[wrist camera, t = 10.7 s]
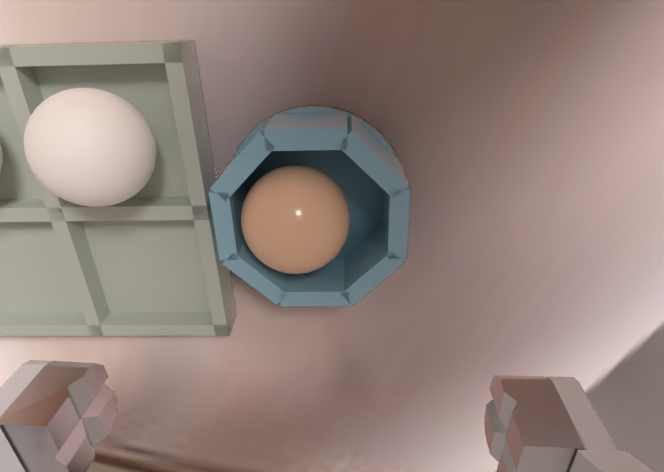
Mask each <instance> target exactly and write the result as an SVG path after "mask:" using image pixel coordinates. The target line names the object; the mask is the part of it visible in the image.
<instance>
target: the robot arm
mask: <svg viewBox="0 0 664 472" xmlns="http://www.w3.org/2000/svg"><path fill="white" fill-rule="evenodd" d="M107 378H108V374H107V372H106V370H105V367H104V365H101V364H96V363H78V362H61V361H36V360H31V361H28V362H26V363H24V364H22V365H21V366H20V367H19V368H18V369H17V370H16V372H15V373H14V374H13V375H12V376H11V377H10V378H9V379H8V380H7V381H6V382H5V383H4V384H3V385H2V387H1V388H0V472H86V471H87V470H88V468H89V466H90V464H91V463H92V461H93V460H94V458H95V452H94V446H95V445H96V444H98V443H99V442H101V441H102V440H103V439H105V438H106V437H107V435H108V434H109V432H110V430H111V428H112V426H113V425H114V421H115V417H116V413H117V399H116V396H115V393H114V391H113V390H111V389H110V388H109V387H108V386H107V385H105V384H104V383H105V381H106V380H107ZM490 391H491V394H492V397H493V400H492V401H491V402H489V403H488V404H487V405H486V411H485V434H486V440H487V444H488V448H489V452H490V454H491V455H492V456H493V457H494V458H495V459H496V460H497V461H498V462H499V464H498V468H497V472H653V471H651V470H650V469H649V468H647V467H646V466H645V465H643V464H642V463H641V462H639V461H638V460H637V459H636V458H634V457H633V456H632V455H630V454H629V453H628V452H621V451H618V450H617V448H616V447H615V445H614V443H613V441H612V440H611V438H610V436H609V435H608V433H607V431H606V429H605V427H604V425H603V424H602V422H601V420H600V418H599V417H598V415H597V413H596V411H595V410H594V408H593V406H592V404H591V403H590V401H589V399H588V397H587V396H586V394H585V392H584V390H583V389H582V387H581V385H580V383H579V382H578V381H577V380H576V379H575V378H574V377H544V376H496V375H495V376H494V378H493V379H492V382H491V387H490Z"/></svg>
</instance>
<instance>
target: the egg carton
mask: <svg viewBox="0 0 664 472" xmlns="http://www.w3.org/2000/svg"><path fill="white" fill-rule="evenodd" d="M215 181H216V180H215V173H214V167H213V160H212V154H211V147H210V141H209V134H208V128H207V121H206V115H205V108H204V102H203V95H202V89H201V82H200V76H199V69H198V63H197V56H196V50H195V43H194V40H184V41H148V42H112V43H75V44H39V45H2V46H0V336H229V333H230V330H231V328H232V325H233V322H234V320H235V317H236V310H235V303H234V297H233V290H232V284H231V277H230V271H229V269H228V268H227V267H225V266H224V265H223V264H222V263H223V261H224V260H219V253H218V247H217V241H216V235H215V229H214V223H213V217H212V211H211V204H210V198H209V192H210V190H211V189H210V188H211V186H212V185H213V184H214V182H215Z"/></svg>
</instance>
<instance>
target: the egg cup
mask: <svg viewBox="0 0 664 472" xmlns="http://www.w3.org/2000/svg"><path fill="white" fill-rule="evenodd" d="M289 165H302V166H308V167H311V168H314V169H317V170H319V171H321V172H323V173H324V174H326V175H327V176H329V177H330V178H331V179H332V180H333V181H334V182H335V183H336V184H337V185H338V186H339V187H340V189H341V191H342V192H343V194H344V196H345V198H346V200H347V203H348V207H349V211H350V228H349V232H348V236H347V239H346V242H345V244H344V245H343V247H342V249H341V251H340V252H339V253H338V254H337V256H336V257H335V258H334V259H333V260H332V261H330V262H329V263H328V264H326V265H325V266H323V267H322V268H319V269H317V270H315V271H312V272H308V273H302V274H289V273H283V272H279V271H276V270H274V269H272V268H270V267H268V266H267V265H265V264H264V263H262V262H261V261H260V260H259V259H258V258H256V256H255V255H254V254H253V253H252V251H251V250H250V249H249V247H248V245H247V243H246V241H245V239H244V236H243V232H242V227H241V212H242V206H243V203H244V200H245V198H246V195H247V194H248V192H249V190H250V189H251V187H252V186H253V185H254V183H255V182H256V181H258V180H259V179H260V178H261V177H262V176H263V175H265V174H266V173H268V172H270V171H272V170H274V169H276V168H280V167H283V166H289ZM210 189H211V190H210V192H209V198H210V204H211V211H212V217H213V223H214V229H215V235H216V241H217V247H218V253H219V260H224V261H223V263H222V264H223V265H224V266H225V267H227V268H228V269H229V270H231V271H232V272H233V273H235V274H236V275H237V276H238V277H240V278H241V279H242V280H244V281H245V282H246V283H248V284H249V285H250V286H252V287H253V288H254V289H256V290H257V291H258V292H260V293H261V294H262V295H264V296H265V297H266V298H267V299H269V300H270V301H271V302H273V303H274V304H275V305H278V304H279V303H280V304H281V307H349V302H350V303H351V304H352V305H354V304H355V303H356V302H358V301H359V300H360V299H361V298H363V297H364V296H365V295H366V294H367V293H369V292H370V291H371V290H372V289H373V288H375V287H376V286H377V285H378V284H379V283H381V282H382V281H383V280H384V279H385V278H387V277H388V276H389V275H390V274H392V273H393V272H394V271H395V270H396V269H398V268H399V267H400V266H401V265H402V264H404V263H405V262H404V259H407V245H408V228H409V210H410V193H411V190H410V187H409V184H408V181H407V178H406V176H405V173H404V170H403V167H402V165H401V162H400V161H399V160H398V159H397V158H396V156H395V153H394V151H393V150H392V148H391V147H390V145H389V144H388V142H387V141H386V139H385V138H384V137H383V136H382V135H381V134H380V133H379V132H378V131H377V130H376V129H375V128H374V127H373V126H371V125H370V124H369V123H367V122H366V121H364V120H363V119H361V118H360V117H358V116H356V115H354V114H351V113H349V112H347V111H344V110H340V109H337V108H332V107H327V106H301V107H296V108H291V109H287V110H285V111H282V112H279V113H277V114H275V115H273V116H271V117H269V118H268V119H266V120H264V121H263V122H262V123H260V124H259V125H258V126H256V127H255V128H254V129H253V130H252V131H251V132H250V133H249V134H248V136H247V137H246V138H245V139H244V141H243V142H242V143H241V145H240V146H239V148H238V149H237V151H236V153H235V155H234V157H233V159H232V161H231V162H230V163H229V165H228V166H227V167H226V168H225V170H224V171H223V172H222V173H221V175H220V176H219V177H218V179H217V180H216V181H215V182H214V184H213V185H212V186H211V188H210Z"/></svg>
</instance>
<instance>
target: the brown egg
mask: <svg viewBox="0 0 664 472" xmlns="http://www.w3.org/2000/svg"><path fill="white" fill-rule="evenodd" d="M241 227H242V232H243V236H244V239H245V241H246V243H247V245H248V247H249V249H250V250H251V251H252V253H253V254H254V255H255V256H256V258H258V259H259V260H260V261H261V262H262V263H264V264H265V265H267V266H268V267H270V268H272V269H274V270H276V271H279V272H283V273H289V274H302V273H308V272H312V271H315V270H317V269H319V268H322V267H323V266H325V265H326V264H328V263H329V262H330V261H332V260H333V259H334V258H335V257H336V256H337V254H338V253H339V252H340V251H341V249H342V247H343V245H344V244H345V242H346V239H347V236H348V232H349V228H350V211H349V207H348V203H347V200H346V198H345V196H344V194H343V192H342V191H341V189H340V187H339V186H338V185H337V184H336V183H335V182H334V181H333V180H332V179H331V178H330V177H329V176H327V175H326V174H324V173H323V172H321V171H319V170H317V169H314V168H311V167H308V166H302V165H289V166H283V167H280V168H276V169H274V170H272V171H270V172H268V173H266V174H265V175H263V176H262V177H261V178H260V179H259V180H258V181H256V182H255V183H254V185H253V186H252V187H251V189H250V190H249V192H248V194H247V195H246V198H245V200H244V203H243V206H242V212H241Z"/></svg>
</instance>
